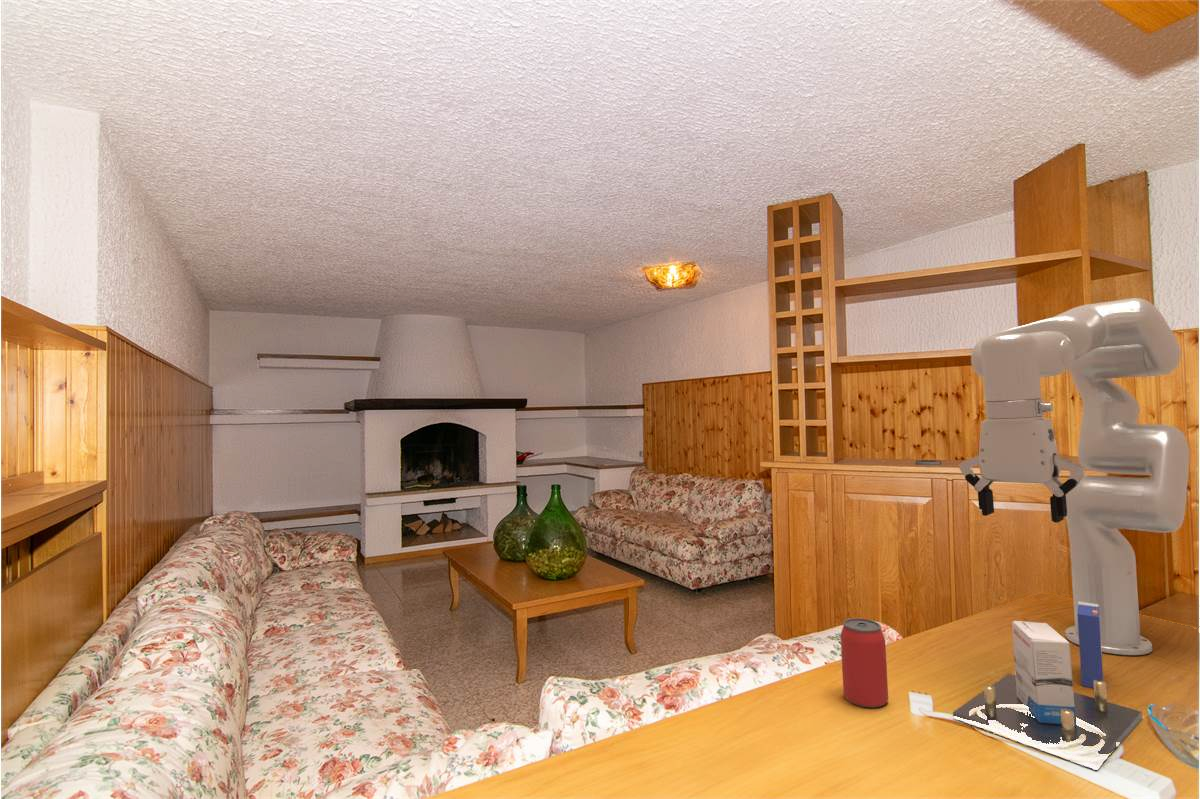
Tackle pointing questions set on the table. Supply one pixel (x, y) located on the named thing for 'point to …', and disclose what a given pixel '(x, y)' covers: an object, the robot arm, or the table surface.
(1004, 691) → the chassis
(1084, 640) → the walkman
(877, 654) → the beer can
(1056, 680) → the ink box
